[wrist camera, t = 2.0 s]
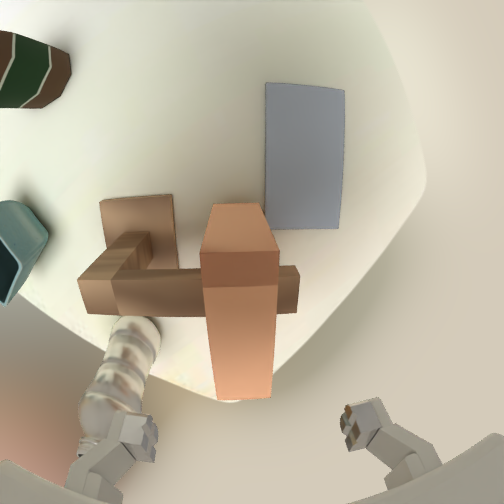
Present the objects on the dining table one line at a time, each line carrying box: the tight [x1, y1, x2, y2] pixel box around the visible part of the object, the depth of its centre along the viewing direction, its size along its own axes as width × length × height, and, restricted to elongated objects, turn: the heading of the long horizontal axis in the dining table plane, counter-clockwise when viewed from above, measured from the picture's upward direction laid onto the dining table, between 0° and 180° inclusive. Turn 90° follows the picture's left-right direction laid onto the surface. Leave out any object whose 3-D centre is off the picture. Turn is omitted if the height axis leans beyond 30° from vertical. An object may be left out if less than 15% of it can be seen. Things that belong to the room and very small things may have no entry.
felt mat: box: [265, 83, 345, 229], centre depth 26 cm, size 15×8×1 cm, turn 0°
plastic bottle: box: [77, 316, 161, 458], centre depth 23 cm, size 6×7×20 cm
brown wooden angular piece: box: [77, 194, 300, 317], centre depth 23 cm, size 10×18×12 cm, turn 90°
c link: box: [200, 203, 280, 400], centre depth 21 cm, size 12×4×11 cm, turn 0°
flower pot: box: [0, 200, 49, 307], centre depth 22 cm, size 9×9×9 cm
